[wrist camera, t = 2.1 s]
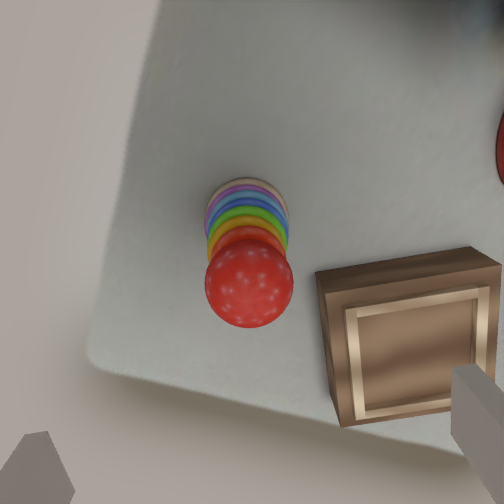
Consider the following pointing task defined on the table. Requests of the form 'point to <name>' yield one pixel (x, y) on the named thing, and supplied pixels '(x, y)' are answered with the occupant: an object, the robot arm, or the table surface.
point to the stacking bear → (501, 150)
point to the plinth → (407, 331)
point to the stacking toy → (247, 253)
